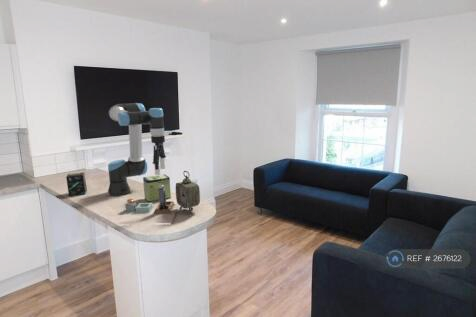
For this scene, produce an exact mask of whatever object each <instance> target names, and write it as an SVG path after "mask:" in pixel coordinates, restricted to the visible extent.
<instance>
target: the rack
mask: <svg viewBox="0 0 476 317" xmlns="http://www.w3.org/2000/svg"><path fill="white" fill-rule="evenodd" d="M174 202H175V201H174V200H169V201H167V200H166V207H167V210H160V206H159V203H158V204H157V206H156V207H155V209H154V212H153V215H159V214H160V215H162V214H163V215H164V214H167V215H168V214H171V213H172V212H173V209H174V207H175V206H176V204H175V203H174Z"/></svg>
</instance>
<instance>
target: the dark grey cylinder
mask: <svg viewBox="0 0 476 317" xmlns="http://www.w3.org/2000/svg"><path fill="white" fill-rule="evenodd" d="M158 193H159V200H158V204H159V206H160V210H167V207H166V201H167V199H166V194H165V188H164V185H159V189H158Z"/></svg>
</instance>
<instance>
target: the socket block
mask: <svg viewBox="0 0 476 317" xmlns="http://www.w3.org/2000/svg"><path fill="white" fill-rule="evenodd" d="M154 208H155V205H153V202H139V203H138V204H137V202H135V201H134V202H133V205H128V203H127V202H126V204H125V212H124V215H136V214H137V215H139V214H142V215H143V214H147V215H148V214H151V213H152V210H153V209H154Z"/></svg>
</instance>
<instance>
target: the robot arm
mask: <svg viewBox="0 0 476 317" xmlns="http://www.w3.org/2000/svg"><path fill="white" fill-rule="evenodd" d="M108 116H109V118H110V119H111V120H113V121H115V122H118V125H119V126H121V127H123V126H124V127H127V126H128V134H129V135H128V140H129V141H128V142H129V143H128V144H129V156H128V157H127V161H126V160H125V159H116V160H112V161H110V162H109V163H108V165H107V168H108V169H107V171H108V177H109V186H108V189H107V193H108V196H109V195H110V196H123V195H126V194H129V193H131V187H130V185H129V183H128V180H127V178H131V177H137V176H139V177H140V176H143V175H145V174H146V173H147V172H148V161H147V159H146V158H145V157H144V155H143V136H142V135H143V133H142V132H143V129H142V128H143V127H142V125H149V133H150V138H151V139H150V140H151V142H150V143H152V144H154V145H153V157H152V158H153V159H152V160H153V162H152V164H153V166H154V176H157V175H161V170H166V162H165V159H166V157H167V156H166V153H165V152H166V151H165V148H164V143H165V142H166V139H165V123H164V111H163V108H161V107H152V108H149V110H146V107H145V106H144V104H143V103H138V102H133V103H130V102H129V103H117V104H115V105H113V106H111V107H110V109H109V110H108Z"/></svg>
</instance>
